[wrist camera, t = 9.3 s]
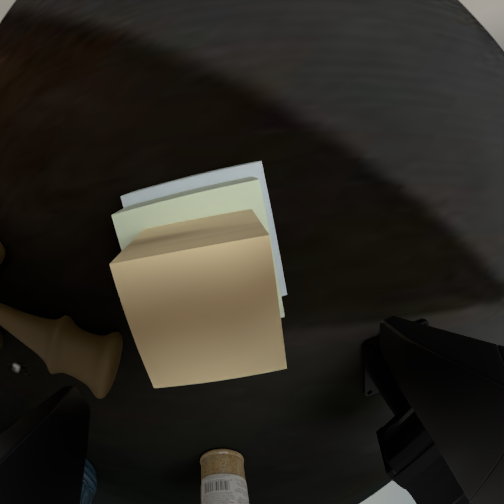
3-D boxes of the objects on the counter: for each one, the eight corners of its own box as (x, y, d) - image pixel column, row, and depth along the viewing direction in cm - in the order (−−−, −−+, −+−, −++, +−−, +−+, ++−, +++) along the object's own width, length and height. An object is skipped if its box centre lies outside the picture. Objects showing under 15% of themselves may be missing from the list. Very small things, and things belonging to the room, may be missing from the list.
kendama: (115, 387, 23) (-51, 299, 18) (140, 296, 21) (-48, 207, 17) (100, 436, 18) (-85, 325, 13) (122, 339, 16) (-91, 221, 11)
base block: (278, 277, 22) (287, 294, 19) (167, 302, 21) (160, 322, 18) (255, 161, 19) (261, 161, 16) (134, 191, 19) (120, 196, 16)
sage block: (274, 293, 19) (284, 316, 16) (162, 316, 18) (154, 343, 15) (252, 176, 16) (259, 179, 14) (128, 205, 16) (111, 215, 13)
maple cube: (266, 307, 15) (286, 368, 11) (169, 323, 15) (154, 388, 10) (251, 208, 14) (269, 234, 9) (144, 229, 14) (109, 264, 9)
